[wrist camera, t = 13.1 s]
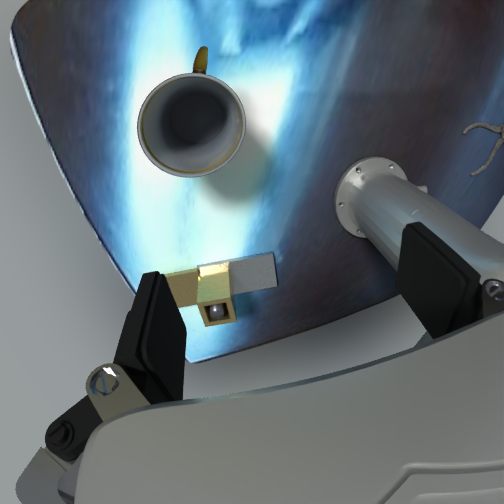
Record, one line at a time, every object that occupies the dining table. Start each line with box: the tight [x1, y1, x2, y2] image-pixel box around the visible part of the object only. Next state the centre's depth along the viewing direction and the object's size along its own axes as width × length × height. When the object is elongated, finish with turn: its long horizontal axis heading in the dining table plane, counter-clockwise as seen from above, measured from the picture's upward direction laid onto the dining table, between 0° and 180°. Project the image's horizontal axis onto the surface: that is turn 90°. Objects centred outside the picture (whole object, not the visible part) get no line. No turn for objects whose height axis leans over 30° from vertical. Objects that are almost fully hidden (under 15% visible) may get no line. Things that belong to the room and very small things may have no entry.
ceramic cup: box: [137, 46, 246, 178], centre depth 28 cm, size 13×10×10 cm
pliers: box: [463, 122, 504, 176], centre depth 36 cm, size 10×1×20 cm
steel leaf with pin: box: [197, 251, 277, 319], centre depth 41 cm, size 11×6×8 cm, turn 99°
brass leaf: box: [164, 267, 237, 327], centre depth 41 cm, size 11×6×7 cm, turn 99°
